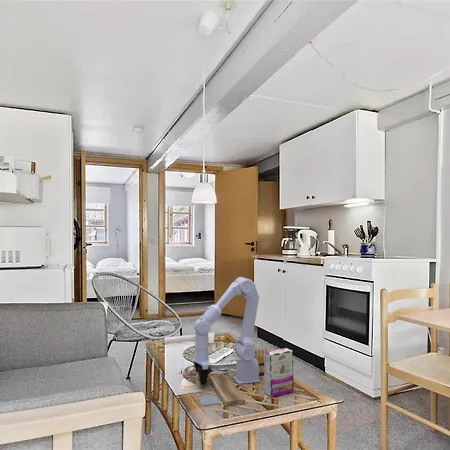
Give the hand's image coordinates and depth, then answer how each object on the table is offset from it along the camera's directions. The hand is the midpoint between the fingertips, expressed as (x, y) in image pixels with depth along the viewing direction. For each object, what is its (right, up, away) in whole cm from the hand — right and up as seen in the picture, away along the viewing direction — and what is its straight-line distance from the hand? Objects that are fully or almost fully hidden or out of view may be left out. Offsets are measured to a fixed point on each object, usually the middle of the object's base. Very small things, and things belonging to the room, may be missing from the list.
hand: (201, 381), depth 151 cm
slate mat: (+4, -1, -16) cm, 16 cm away
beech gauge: (0, -2, 0) cm, 2 cm away
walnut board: (+10, -1, -7) cm, 12 cm away
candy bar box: (+31, -1, -8) cm, 32 cm away
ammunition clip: (+26, -2, +11) cm, 29 cm away
